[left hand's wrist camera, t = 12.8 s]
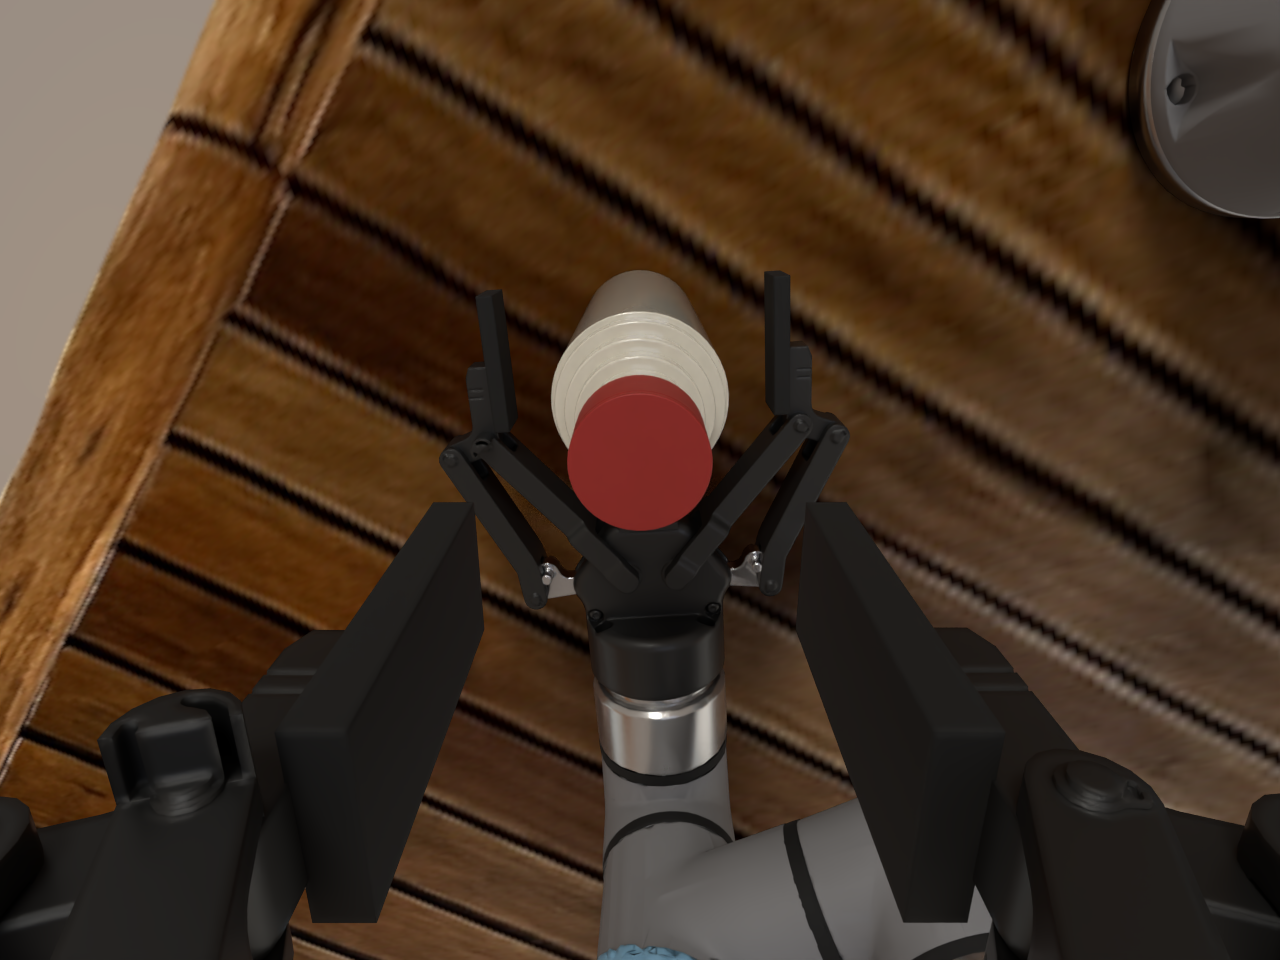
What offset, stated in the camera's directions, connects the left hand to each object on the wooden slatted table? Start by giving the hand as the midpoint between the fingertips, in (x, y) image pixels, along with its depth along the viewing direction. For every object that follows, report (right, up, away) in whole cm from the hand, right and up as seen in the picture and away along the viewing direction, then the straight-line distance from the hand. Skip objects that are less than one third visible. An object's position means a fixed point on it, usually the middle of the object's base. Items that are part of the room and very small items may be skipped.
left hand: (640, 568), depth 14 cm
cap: (0, +2, +6) cm, 6 cm away
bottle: (0, +10, +28) cm, 30 cm away
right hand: (0, +11, +21) cm, 24 cm away
